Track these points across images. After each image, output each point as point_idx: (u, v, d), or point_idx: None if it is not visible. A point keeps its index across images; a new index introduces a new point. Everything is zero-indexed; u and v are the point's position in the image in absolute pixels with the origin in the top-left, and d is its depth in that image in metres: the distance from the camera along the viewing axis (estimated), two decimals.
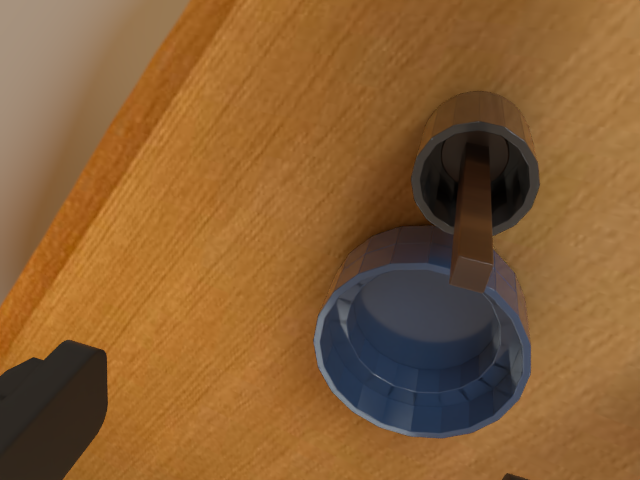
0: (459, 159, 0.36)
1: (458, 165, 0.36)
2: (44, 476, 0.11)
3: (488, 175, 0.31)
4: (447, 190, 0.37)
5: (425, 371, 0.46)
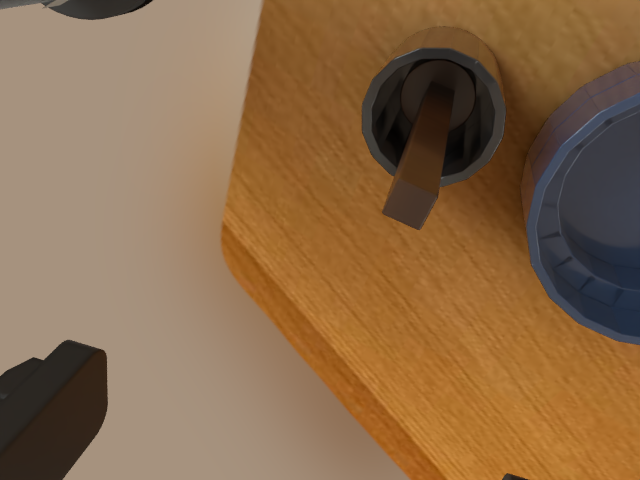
0: None
1: None
2: (44, 476, 0.11)
3: (422, 105, 0.27)
4: (474, 133, 0.32)
5: None
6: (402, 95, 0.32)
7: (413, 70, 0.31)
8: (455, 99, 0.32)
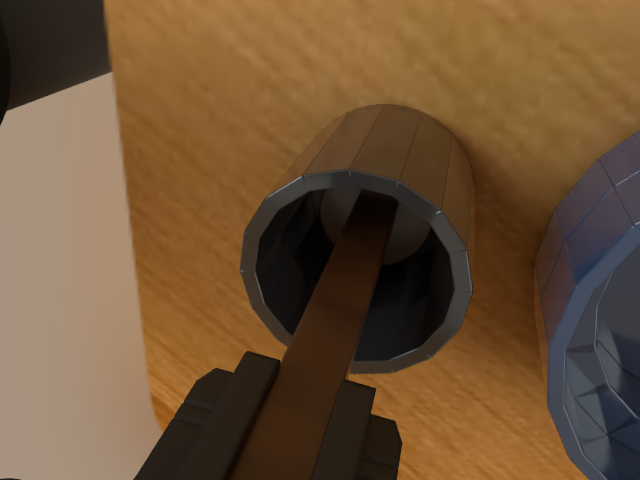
0: None
1: (393, 240, 0.21)
2: None
3: (327, 262, 0.16)
4: (443, 256, 0.21)
5: None
6: (323, 219, 0.21)
7: None
8: (401, 214, 0.21)
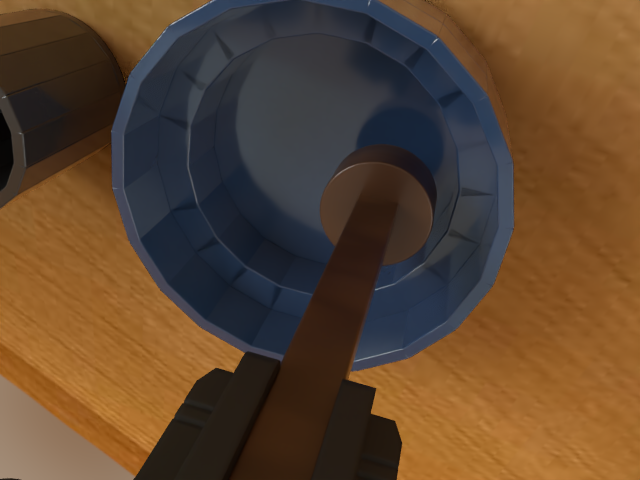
0: None
1: (393, 240, 0.21)
2: None
3: (327, 263, 0.16)
4: None
5: None
6: (323, 220, 0.21)
7: (330, 183, 0.21)
8: (402, 214, 0.21)
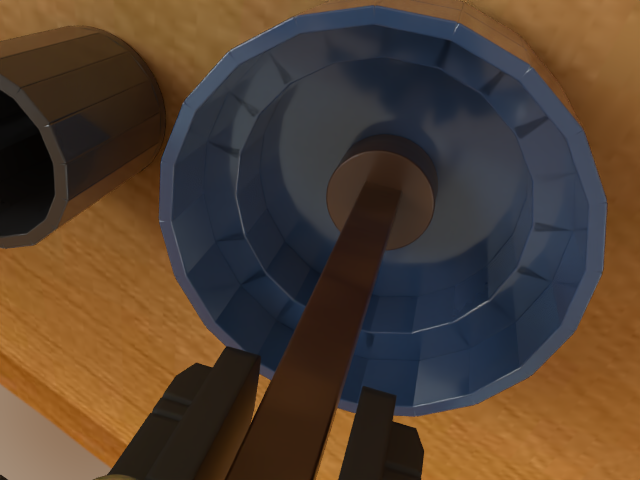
0: None
1: (396, 226, 0.22)
2: (218, 475, 0.11)
3: None
4: None
5: (527, 185, 0.22)
6: (330, 206, 0.22)
7: (337, 171, 0.22)
8: (404, 201, 0.22)
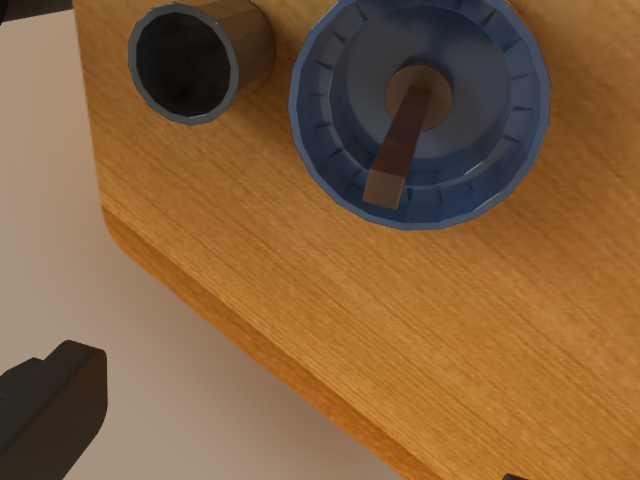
0: None
1: (428, 114, 0.36)
2: (44, 476, 0.11)
3: (399, 107, 0.31)
4: None
5: (509, 88, 0.36)
6: (386, 102, 0.36)
7: (392, 79, 0.35)
8: (434, 97, 0.35)
